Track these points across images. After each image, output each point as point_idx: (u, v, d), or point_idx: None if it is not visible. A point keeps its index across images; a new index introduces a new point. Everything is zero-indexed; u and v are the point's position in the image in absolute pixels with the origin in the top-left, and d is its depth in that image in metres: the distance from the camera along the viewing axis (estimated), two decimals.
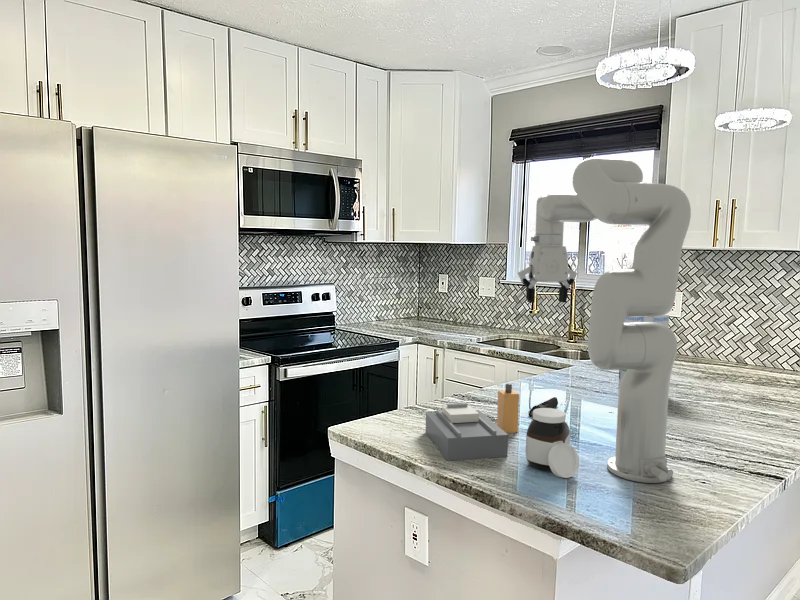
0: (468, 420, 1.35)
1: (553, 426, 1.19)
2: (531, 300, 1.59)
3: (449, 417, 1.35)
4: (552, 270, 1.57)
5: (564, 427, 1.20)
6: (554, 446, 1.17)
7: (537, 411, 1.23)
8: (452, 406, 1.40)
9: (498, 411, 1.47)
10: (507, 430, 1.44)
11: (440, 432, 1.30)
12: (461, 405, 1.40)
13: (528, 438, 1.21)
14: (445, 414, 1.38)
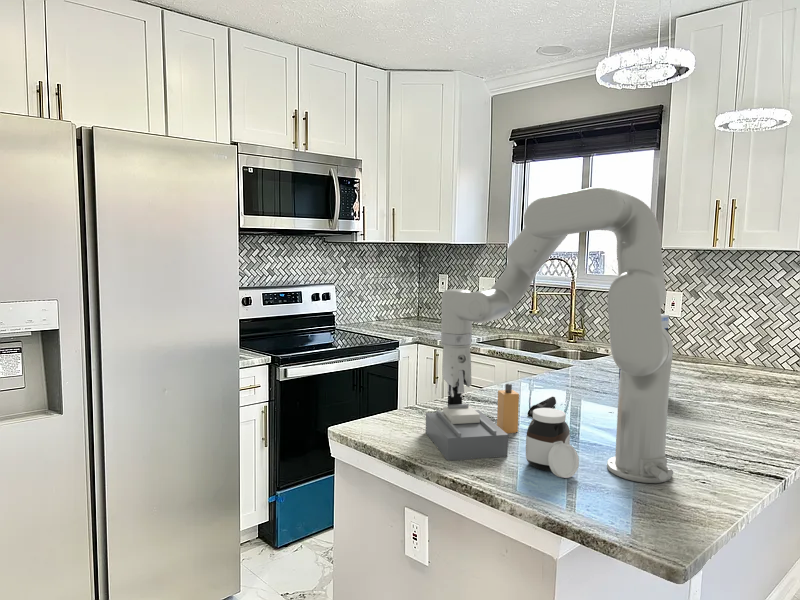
0: (469, 421, 1.35)
1: (553, 426, 1.19)
2: None
3: (450, 418, 1.34)
4: None
5: (564, 427, 1.20)
6: (554, 446, 1.17)
7: (537, 411, 1.23)
8: (453, 407, 1.39)
9: (498, 411, 1.47)
10: (507, 430, 1.44)
11: (440, 432, 1.30)
12: (462, 406, 1.40)
13: (528, 438, 1.21)
14: (446, 415, 1.38)
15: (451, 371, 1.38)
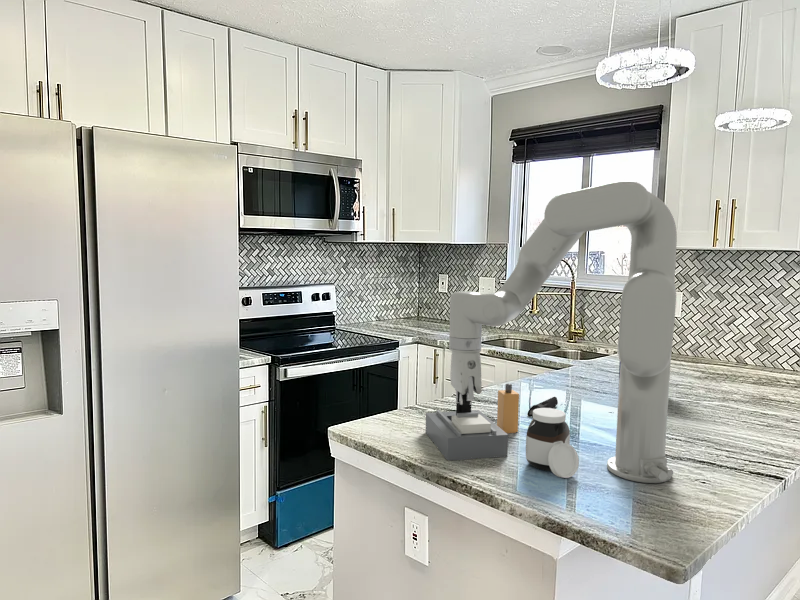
0: (479, 431, 1.28)
1: (553, 426, 1.19)
2: None
3: (459, 427, 1.28)
4: None
5: (564, 427, 1.20)
6: (554, 446, 1.17)
7: (537, 411, 1.23)
8: (462, 415, 1.32)
9: (498, 411, 1.47)
10: (507, 430, 1.44)
11: (440, 432, 1.30)
12: (471, 414, 1.33)
13: (528, 438, 1.21)
14: (455, 424, 1.31)
15: (460, 377, 1.31)
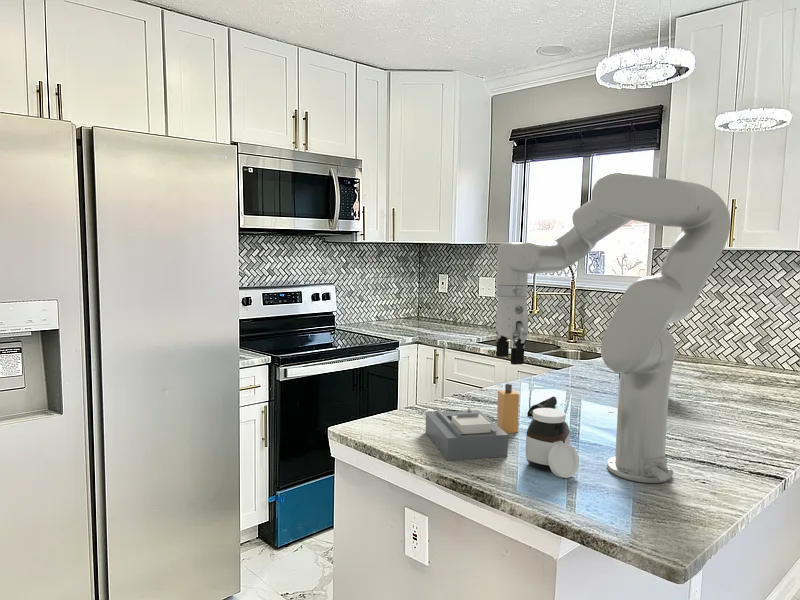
0: (479, 431, 1.28)
1: (553, 426, 1.19)
2: (521, 361, 1.39)
3: (459, 428, 1.28)
4: None
5: (564, 427, 1.20)
6: (554, 446, 1.17)
7: (537, 411, 1.23)
8: (462, 416, 1.32)
9: (498, 411, 1.47)
10: (507, 430, 1.44)
11: (440, 432, 1.30)
12: (472, 414, 1.33)
13: (528, 438, 1.21)
14: (455, 424, 1.31)
15: (508, 322, 1.39)
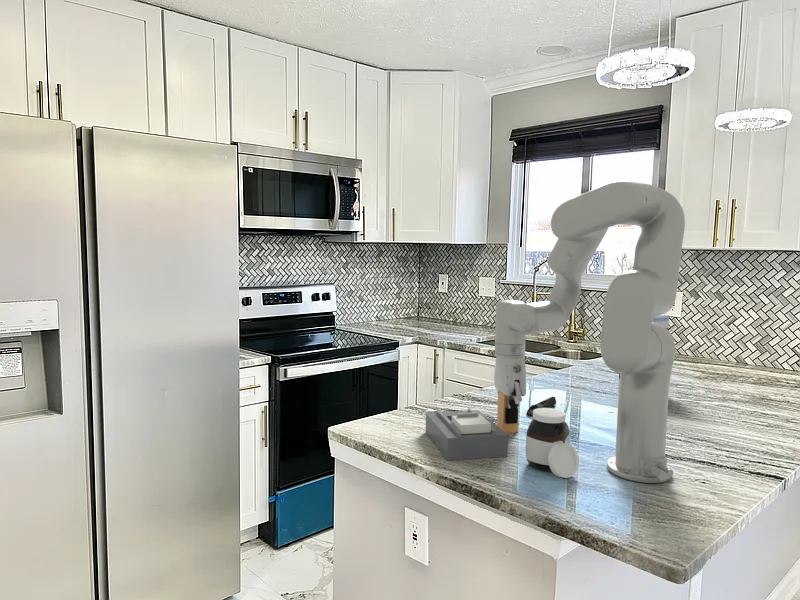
0: (479, 431, 1.28)
1: (553, 426, 1.19)
2: (515, 420, 1.43)
3: (459, 428, 1.28)
4: None
5: (564, 427, 1.20)
6: (554, 446, 1.17)
7: (537, 411, 1.23)
8: (462, 416, 1.32)
9: (498, 411, 1.47)
10: (507, 430, 1.44)
11: (440, 432, 1.30)
12: (472, 414, 1.33)
13: (528, 438, 1.21)
14: (455, 424, 1.31)
15: (506, 381, 1.40)
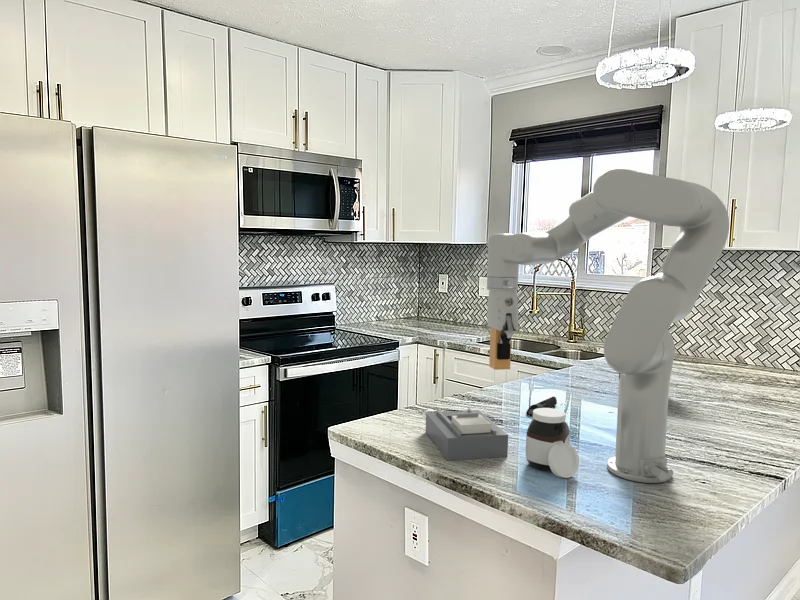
0: (479, 431, 1.28)
1: (553, 426, 1.19)
2: (507, 356, 1.40)
3: (459, 428, 1.28)
4: None
5: (564, 427, 1.20)
6: (554, 446, 1.17)
7: (537, 411, 1.23)
8: (462, 416, 1.32)
9: (490, 348, 1.44)
10: (499, 366, 1.41)
11: (440, 432, 1.30)
12: (472, 414, 1.33)
13: (528, 438, 1.21)
14: (455, 424, 1.31)
15: (498, 314, 1.37)
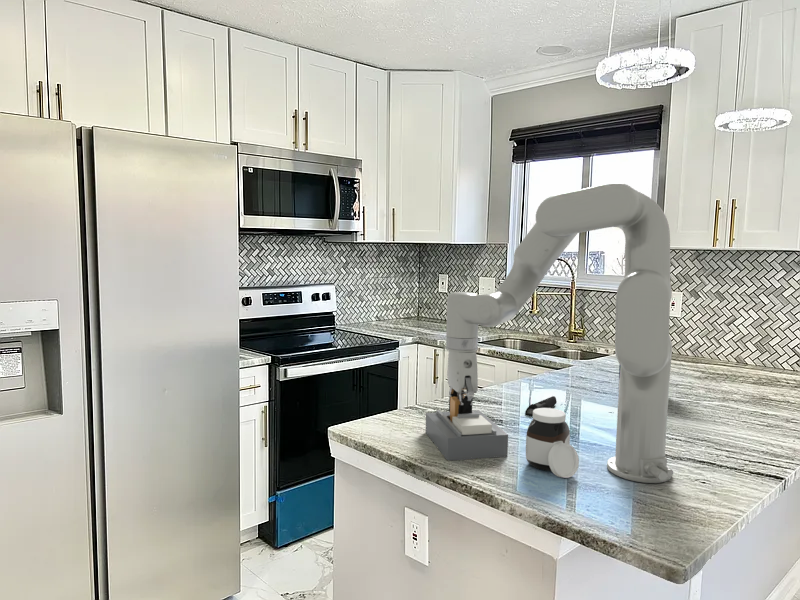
0: (480, 432, 1.27)
1: (553, 426, 1.19)
2: None
3: (460, 428, 1.27)
4: None
5: (564, 427, 1.20)
6: (554, 446, 1.17)
7: (537, 411, 1.23)
8: (463, 416, 1.32)
9: (450, 418, 1.40)
10: None
11: (440, 432, 1.30)
12: (472, 415, 1.32)
13: (528, 438, 1.21)
14: (456, 425, 1.30)
15: (457, 377, 1.33)
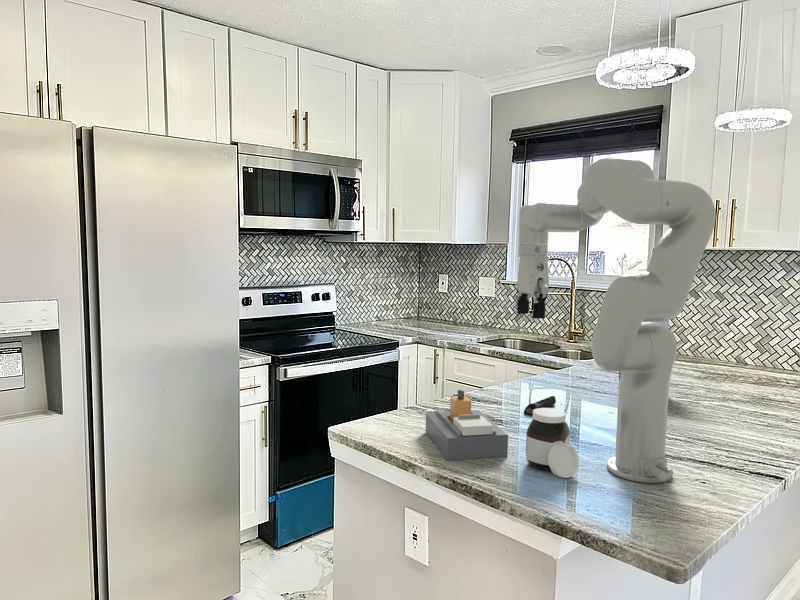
0: (481, 432, 1.27)
1: (553, 426, 1.19)
2: (543, 315, 1.48)
3: (461, 429, 1.26)
4: None
5: (564, 427, 1.20)
6: (554, 446, 1.17)
7: (537, 411, 1.23)
8: (464, 417, 1.31)
9: (450, 418, 1.40)
10: None
11: (440, 432, 1.30)
12: (473, 416, 1.32)
13: (528, 438, 1.21)
14: (456, 426, 1.30)
15: (530, 279, 1.48)
